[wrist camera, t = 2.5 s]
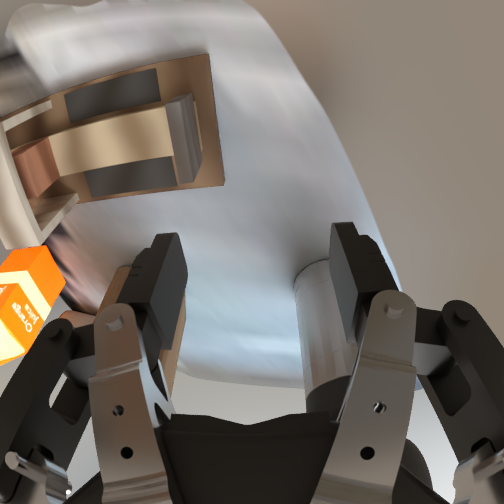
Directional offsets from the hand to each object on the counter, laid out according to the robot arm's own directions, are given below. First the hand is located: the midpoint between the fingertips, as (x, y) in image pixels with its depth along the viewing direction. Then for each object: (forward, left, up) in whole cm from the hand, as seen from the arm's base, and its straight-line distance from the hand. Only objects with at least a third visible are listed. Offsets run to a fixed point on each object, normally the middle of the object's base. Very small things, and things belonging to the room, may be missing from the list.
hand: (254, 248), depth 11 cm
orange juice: (+37, +18, -23) cm, 47 cm away
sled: (+25, 0, -20) cm, 32 cm away
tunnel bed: (+25, 0, -22) cm, 34 cm away
